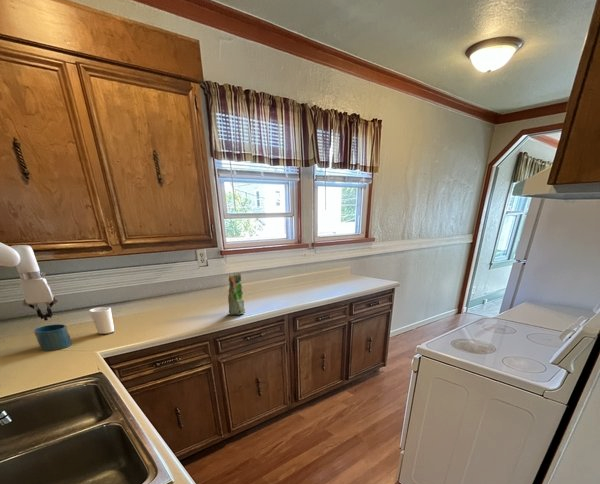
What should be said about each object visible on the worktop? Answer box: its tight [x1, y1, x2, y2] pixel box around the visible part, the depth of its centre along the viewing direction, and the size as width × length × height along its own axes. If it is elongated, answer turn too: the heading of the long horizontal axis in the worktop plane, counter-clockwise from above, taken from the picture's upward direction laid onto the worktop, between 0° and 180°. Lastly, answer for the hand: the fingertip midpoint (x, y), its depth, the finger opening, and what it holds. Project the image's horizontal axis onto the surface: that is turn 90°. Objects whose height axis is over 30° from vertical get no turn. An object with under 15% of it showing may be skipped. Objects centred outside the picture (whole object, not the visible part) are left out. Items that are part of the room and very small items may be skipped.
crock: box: [33, 323, 73, 352], centre depth 154 cm, size 12×12×9 cm
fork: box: [42, 311, 50, 322], centre depth 149 cm, size 10×3×3 cm, turn 32°
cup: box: [88, 306, 115, 336], centre depth 171 cm, size 10×10×13 cm
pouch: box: [227, 272, 246, 316], centre depth 202 cm, size 11×12×25 cm
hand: (46, 317), depth 149 cm, fingers closed on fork, 2 cm apart
